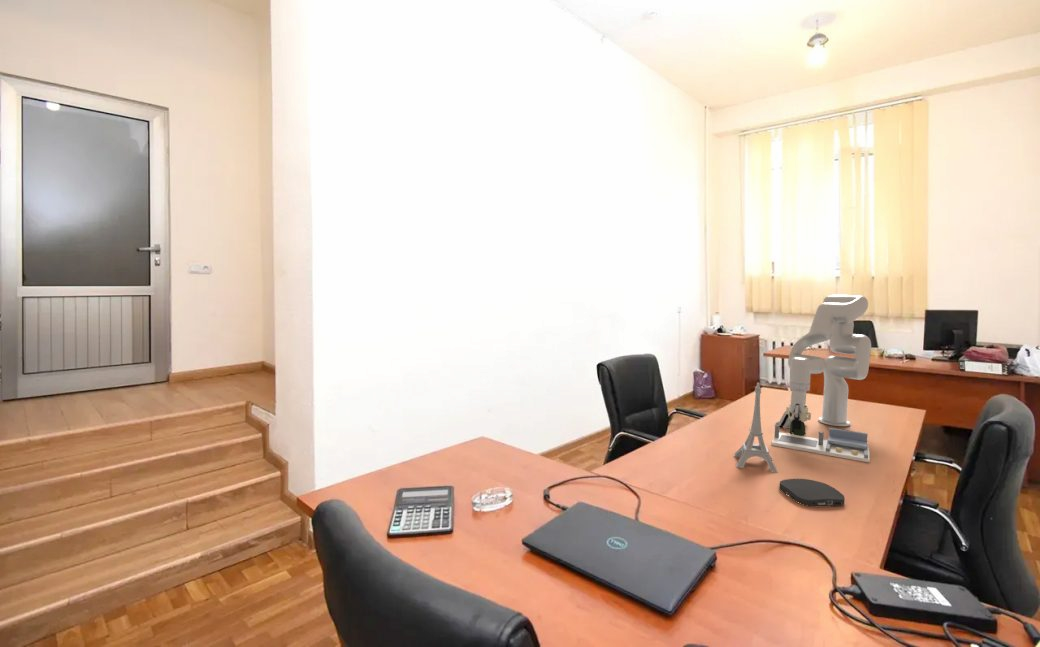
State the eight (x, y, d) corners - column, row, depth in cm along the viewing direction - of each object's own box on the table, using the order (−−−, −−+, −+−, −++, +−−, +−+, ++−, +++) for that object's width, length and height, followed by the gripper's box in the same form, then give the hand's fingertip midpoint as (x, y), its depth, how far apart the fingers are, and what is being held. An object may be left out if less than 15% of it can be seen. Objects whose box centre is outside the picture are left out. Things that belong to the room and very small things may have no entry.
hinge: (792, 419, 228) (800, 402, 224) (801, 425, 224) (810, 407, 221) (774, 425, 219) (782, 407, 215) (783, 431, 215) (792, 413, 211)
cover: (829, 437, 194) (829, 427, 194) (866, 443, 187) (867, 433, 187) (828, 442, 188) (828, 432, 187) (866, 449, 180) (867, 438, 180)
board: (777, 434, 206) (777, 420, 205) (868, 449, 187) (869, 434, 186) (771, 445, 193) (772, 430, 192) (869, 462, 174) (870, 446, 174)
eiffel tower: (736, 467, 170) (739, 385, 167) (733, 455, 182) (736, 378, 180) (778, 472, 165) (782, 388, 163) (772, 459, 178) (776, 380, 175)
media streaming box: (818, 486, 155) (818, 477, 155) (850, 507, 140) (851, 497, 140) (774, 487, 154) (774, 478, 154) (802, 508, 140) (802, 498, 140)
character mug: (780, 432, 209) (781, 403, 207) (790, 430, 212) (792, 401, 211) (804, 440, 199) (805, 409, 198) (814, 437, 202) (816, 407, 201)
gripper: (792, 381, 213) (790, 420, 214) (786, 388, 199) (784, 430, 200) (811, 383, 208) (809, 423, 210) (807, 391, 194) (805, 433, 196)
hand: (797, 426), depth 205 cm, fingers closed on character mug, 7 cm apart
